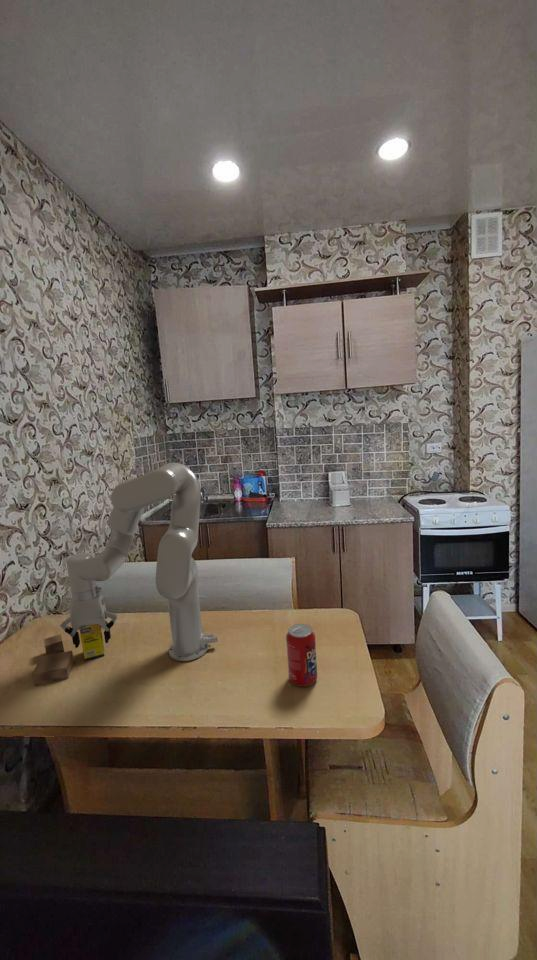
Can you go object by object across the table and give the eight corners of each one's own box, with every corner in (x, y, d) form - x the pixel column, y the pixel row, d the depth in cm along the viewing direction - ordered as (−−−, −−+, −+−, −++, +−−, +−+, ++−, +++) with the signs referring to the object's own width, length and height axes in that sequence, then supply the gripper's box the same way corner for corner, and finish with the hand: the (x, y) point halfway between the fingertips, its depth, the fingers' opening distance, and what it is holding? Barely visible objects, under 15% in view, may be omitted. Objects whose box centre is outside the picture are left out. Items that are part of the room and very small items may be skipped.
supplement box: (104, 656, 133) (99, 624, 131) (84, 661, 131) (79, 629, 129) (104, 646, 138) (99, 616, 136) (85, 651, 136) (79, 620, 134)
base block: (74, 661, 132) (72, 650, 131) (68, 679, 123) (66, 667, 122) (42, 668, 129) (40, 656, 129) (34, 686, 121) (32, 674, 120)
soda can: (284, 675, 118) (281, 626, 115) (309, 667, 120) (306, 619, 118) (296, 692, 110) (292, 641, 108) (322, 683, 113) (320, 633, 110)
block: (63, 647, 140) (60, 634, 139) (64, 654, 135) (62, 640, 134) (46, 653, 137) (43, 639, 136) (47, 660, 133) (44, 646, 132)
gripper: (115, 584, 136) (122, 632, 139) (58, 591, 133) (67, 641, 136) (111, 594, 129) (119, 645, 132) (51, 602, 126) (60, 654, 129)
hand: (92, 643), depth 134 cm, fingers open, 8 cm apart
